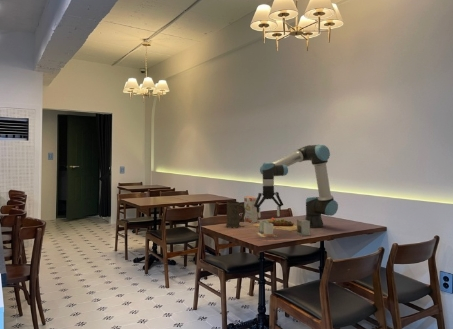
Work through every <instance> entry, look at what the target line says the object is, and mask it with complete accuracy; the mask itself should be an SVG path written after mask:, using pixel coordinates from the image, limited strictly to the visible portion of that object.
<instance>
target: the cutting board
mask: <svg viewBox="0 0 453 329" xmlns="http://www.w3.org/2000/svg"><path fill="white" fill-rule="evenodd" d="M267 221H268V222H269V223H272V224H273V229H276V230H284V231H289V232H297V224H296V225H295V223H294V222H291V221H289V220H286V219H284V218H281V219H279V218H278V219H277V220H276V219H275V218H274V217H271V218H270V219H267ZM253 226H255V227H254V228H258V227H259V223H252V227H253Z"/></svg>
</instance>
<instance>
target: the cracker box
mask: <svg viewBox="0 0 453 329" xmlns="http://www.w3.org/2000/svg"><path fill="white" fill-rule="evenodd" d="M256 200H257V197H255V196H248V195H247V196H244V200H243V202H244V203H243V204H244V207H245V216H244V218H243V220H244V222H245V221H246V222H248V223H251V222H252V223H251V224H257V223H258V218H259V217H258V212H257V208H256V207H254V204H255V202H256ZM257 205H258V204H257ZM256 222H257V223H256Z"/></svg>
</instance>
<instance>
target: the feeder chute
mask: <svg viewBox="0 0 453 329" xmlns="http://www.w3.org/2000/svg"><path fill="white" fill-rule="evenodd" d="M296 225H297V231H296V234H297V235H299V236H302V237H305V236H310V235H311V227H310V221H308V220H305V218H304V219H296Z"/></svg>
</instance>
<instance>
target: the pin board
mask: <svg viewBox="0 0 453 329" xmlns="http://www.w3.org/2000/svg"><path fill="white" fill-rule="evenodd" d="M254 233H255V234H257V235H258V236H259V237H261V238H269V237H270V238H271V237H278V235H276V234H275V233H273V234H274V236H268V237H266V236H264V235H263V234H261V233H259V231H255V232H254Z"/></svg>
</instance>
